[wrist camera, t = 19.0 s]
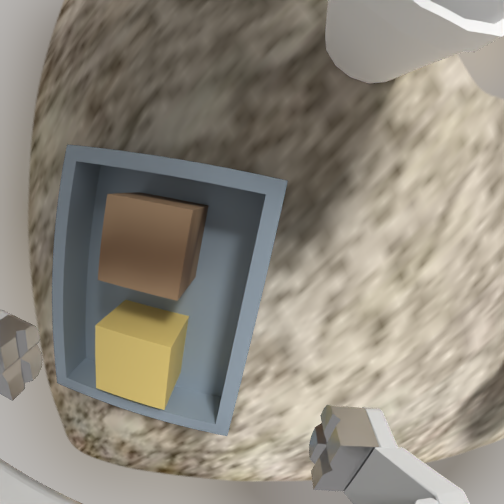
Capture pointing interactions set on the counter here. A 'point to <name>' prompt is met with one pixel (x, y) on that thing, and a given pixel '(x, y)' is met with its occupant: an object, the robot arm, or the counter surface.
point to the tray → (190, 303)
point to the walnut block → (151, 243)
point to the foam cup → (406, 33)
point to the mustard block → (140, 352)
